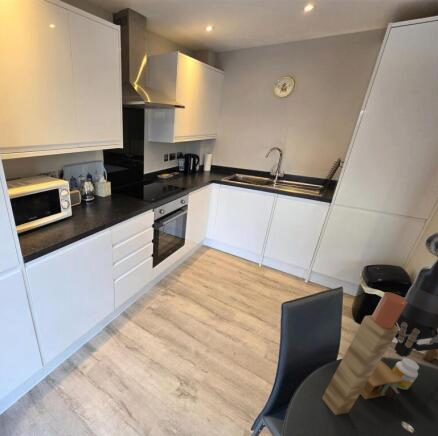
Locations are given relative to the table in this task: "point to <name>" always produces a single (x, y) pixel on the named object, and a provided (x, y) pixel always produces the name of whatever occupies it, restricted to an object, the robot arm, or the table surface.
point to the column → (358, 365)
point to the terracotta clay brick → (389, 310)
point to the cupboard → (380, 381)
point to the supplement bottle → (406, 372)
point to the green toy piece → (390, 390)
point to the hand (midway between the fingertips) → (400, 354)
